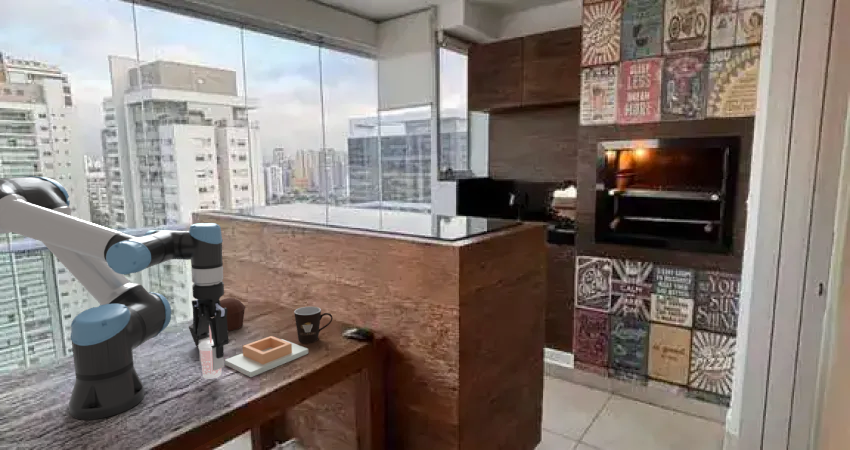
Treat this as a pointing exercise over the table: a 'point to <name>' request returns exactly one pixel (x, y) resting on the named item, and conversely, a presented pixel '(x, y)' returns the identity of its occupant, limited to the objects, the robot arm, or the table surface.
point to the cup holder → (265, 355)
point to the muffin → (233, 313)
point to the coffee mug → (309, 323)
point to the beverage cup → (208, 359)
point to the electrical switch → (196, 335)
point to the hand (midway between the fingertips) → (211, 364)
